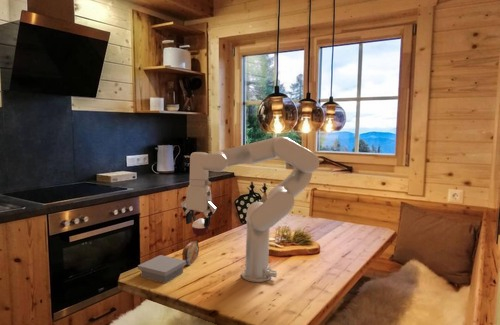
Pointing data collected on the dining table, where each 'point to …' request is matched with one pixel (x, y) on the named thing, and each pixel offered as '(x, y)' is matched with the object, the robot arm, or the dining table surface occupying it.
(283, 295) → the dining table surface
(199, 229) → the cocoa
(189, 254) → the tin
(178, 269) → the stand
